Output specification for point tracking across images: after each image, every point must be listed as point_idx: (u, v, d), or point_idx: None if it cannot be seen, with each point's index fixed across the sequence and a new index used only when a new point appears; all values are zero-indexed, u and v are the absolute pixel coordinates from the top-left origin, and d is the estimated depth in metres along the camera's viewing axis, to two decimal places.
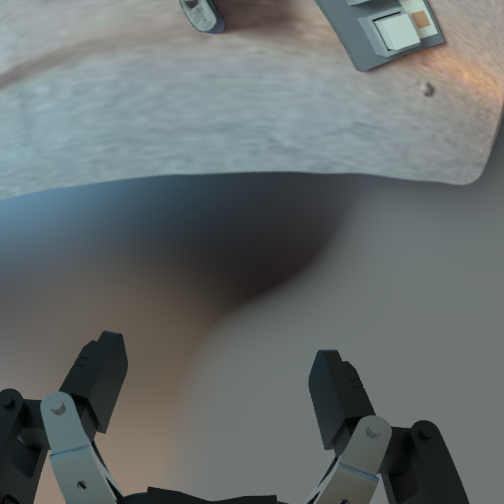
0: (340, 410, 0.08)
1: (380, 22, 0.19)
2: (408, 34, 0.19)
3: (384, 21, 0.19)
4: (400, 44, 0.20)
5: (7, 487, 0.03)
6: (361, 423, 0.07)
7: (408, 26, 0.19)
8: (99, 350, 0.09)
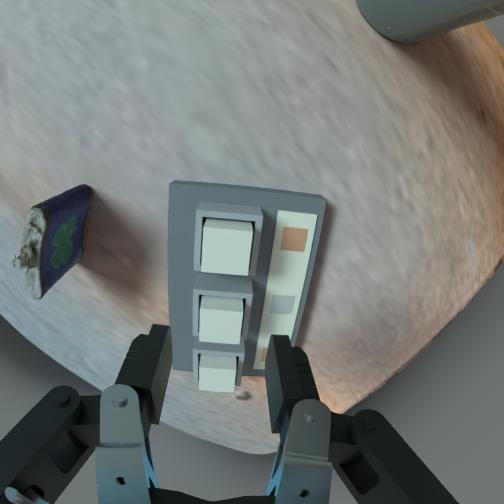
0: (280, 391, 0.09)
1: (199, 365, 0.26)
2: (223, 384, 0.27)
3: (202, 368, 0.26)
4: (207, 388, 0.27)
5: (36, 478, 0.04)
6: (296, 409, 0.08)
7: (228, 379, 0.27)
8: (153, 342, 0.10)
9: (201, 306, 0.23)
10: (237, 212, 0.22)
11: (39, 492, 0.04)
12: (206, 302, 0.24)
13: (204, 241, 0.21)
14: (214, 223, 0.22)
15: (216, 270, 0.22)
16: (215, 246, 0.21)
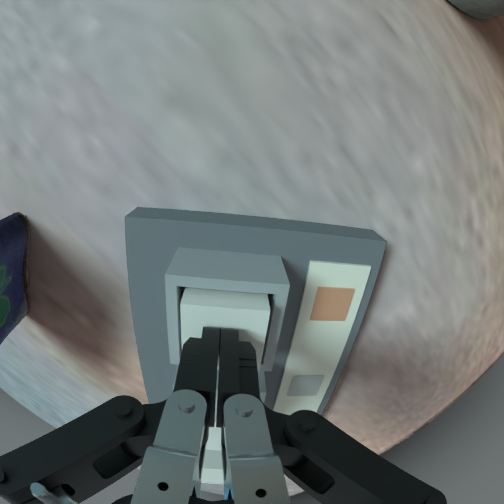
0: (218, 384, 0.09)
1: None
2: None
3: None
4: (203, 481, 0.17)
5: (70, 479, 0.04)
6: (227, 408, 0.07)
7: None
8: (207, 345, 0.10)
9: None
10: (241, 277, 0.12)
11: (70, 490, 0.04)
12: None
13: (184, 325, 0.11)
14: (201, 291, 0.12)
15: None
16: None
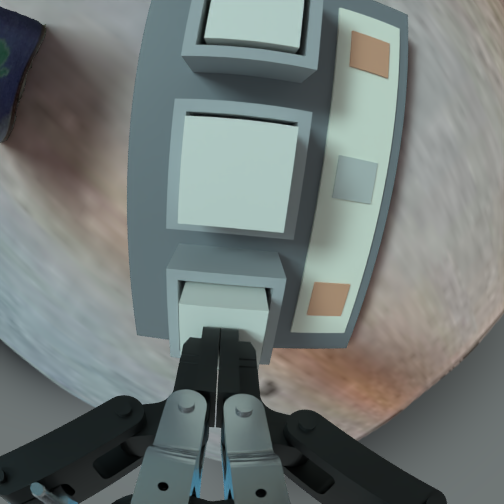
0: (218, 384, 0.09)
1: (180, 300, 0.11)
2: None
3: (187, 306, 0.11)
4: None
5: (70, 480, 0.04)
6: (227, 407, 0.07)
7: (247, 337, 0.12)
8: (207, 345, 0.10)
9: None
10: None
11: (70, 489, 0.04)
12: None
13: None
14: None
15: (235, 33, 0.08)
16: None
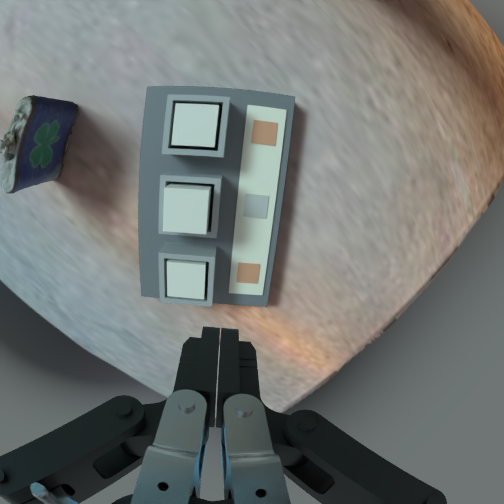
0: (218, 384, 0.09)
1: None
2: (192, 286, 0.26)
3: (170, 263, 0.25)
4: (175, 292, 0.27)
5: (70, 479, 0.04)
6: (227, 407, 0.07)
7: (197, 278, 0.26)
8: (207, 345, 0.10)
9: (166, 187, 0.22)
10: None
11: (70, 489, 0.04)
12: (172, 186, 0.22)
13: (175, 115, 0.21)
14: None
15: (185, 142, 0.22)
16: (185, 119, 0.21)
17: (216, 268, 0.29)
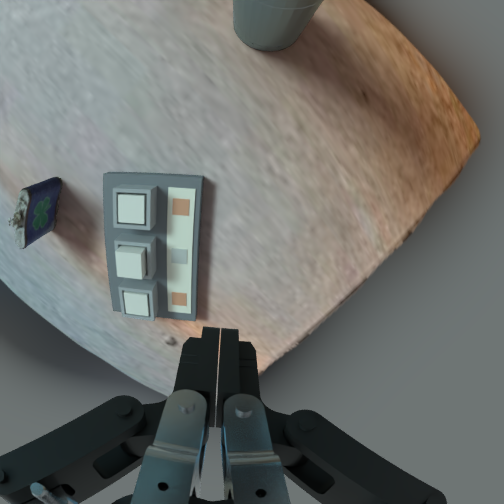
0: (218, 384, 0.09)
1: (124, 291, 0.38)
2: (140, 308, 0.39)
3: (125, 293, 0.38)
4: (131, 311, 0.39)
5: (71, 479, 0.04)
6: (227, 407, 0.07)
7: (143, 303, 0.38)
8: (207, 345, 0.10)
9: (116, 250, 0.34)
10: (136, 188, 0.33)
11: (70, 489, 0.04)
12: (121, 248, 0.34)
13: (119, 203, 0.33)
14: (126, 193, 0.33)
15: (126, 220, 0.34)
16: (124, 205, 0.33)
17: (158, 295, 0.41)
